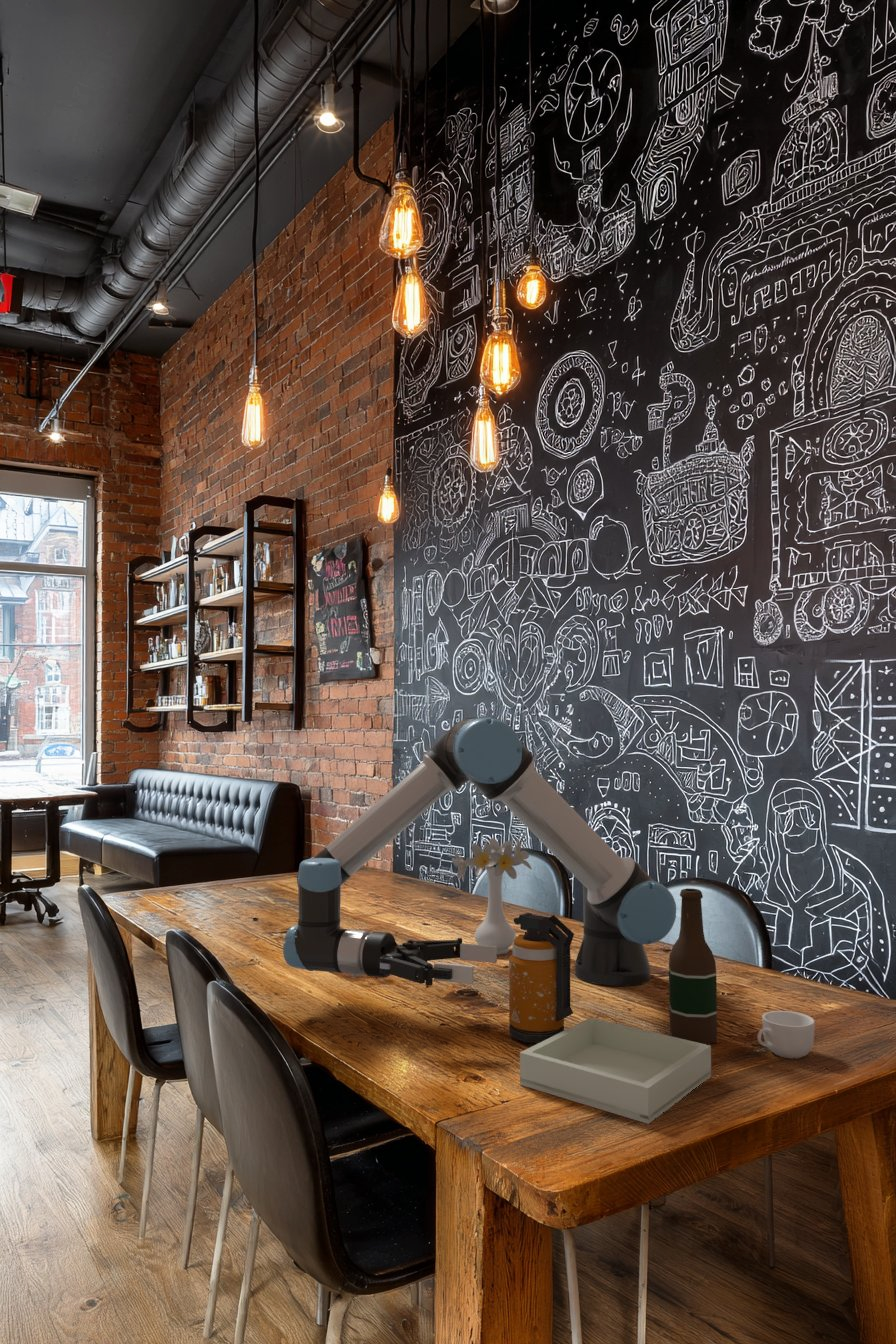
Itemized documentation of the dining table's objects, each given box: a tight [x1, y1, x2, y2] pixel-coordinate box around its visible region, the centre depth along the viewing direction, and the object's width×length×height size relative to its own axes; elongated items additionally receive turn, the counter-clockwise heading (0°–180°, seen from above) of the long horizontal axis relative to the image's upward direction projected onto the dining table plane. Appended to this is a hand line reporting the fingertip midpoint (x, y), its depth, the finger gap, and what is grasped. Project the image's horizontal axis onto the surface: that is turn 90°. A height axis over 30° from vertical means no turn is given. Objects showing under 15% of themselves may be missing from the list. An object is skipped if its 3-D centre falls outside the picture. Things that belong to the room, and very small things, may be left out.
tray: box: [519, 1017, 712, 1125], centre depth 132 cm, size 20×20×4 cm
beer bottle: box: [668, 888, 718, 1045], centre depth 150 cm, size 8×8×24 cm
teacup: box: [757, 1010, 816, 1059], centre depth 142 cm, size 10×8×5 cm
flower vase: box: [451, 837, 533, 956], centre depth 205 cm, size 13×18×25 cm
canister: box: [508, 912, 575, 1045], centre depth 150 cm, size 9×11×20 cm
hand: (485, 964), depth 153 cm, fingers open, 13 cm apart
